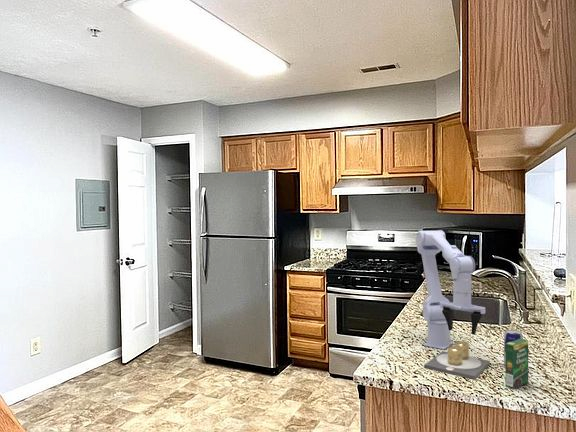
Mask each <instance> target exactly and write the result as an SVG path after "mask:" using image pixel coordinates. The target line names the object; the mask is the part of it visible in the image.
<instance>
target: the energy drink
mask: <svg viewBox="0 0 576 432" xmlns="http://www.w3.org/2000/svg"><path fill="white" fill-rule="evenodd" d="M503 334H504V336H503V337H504V338H503V341H504V342H503V348H504V349H503V366H504V368H505V369H506V343H509V342H512V341H515V340H517V339H520V338H521V339H524V338H523V332H522V331H520V330H516V329H506V330H504V333H503Z"/></svg>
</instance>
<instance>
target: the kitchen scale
mask: <svg viewBox="0 0 576 432" xmlns="http://www.w3.org/2000/svg"><path fill="white" fill-rule="evenodd" d="M490 364H491V360H488V359H483V358H477V357H474V356H471V355H469V359H468V360H462V365H461V366H453V365H450V364H448V351H443V350H442V351H441V352H440V353H438V354H437V355H435V356H434V357H433V358H432V359H430V360H429V361H427V362H426V363H424V364H423V368H424V369H427V370H431V371H436V372H441V373H445V374H450V375H452V376H458V377H462V378H466V379H470V380H471V379H472V380H477V378H478V377H479V376H480V375H481V374H482V373H483V372H484V370H486V369H487V367H489V365H490Z"/></svg>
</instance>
